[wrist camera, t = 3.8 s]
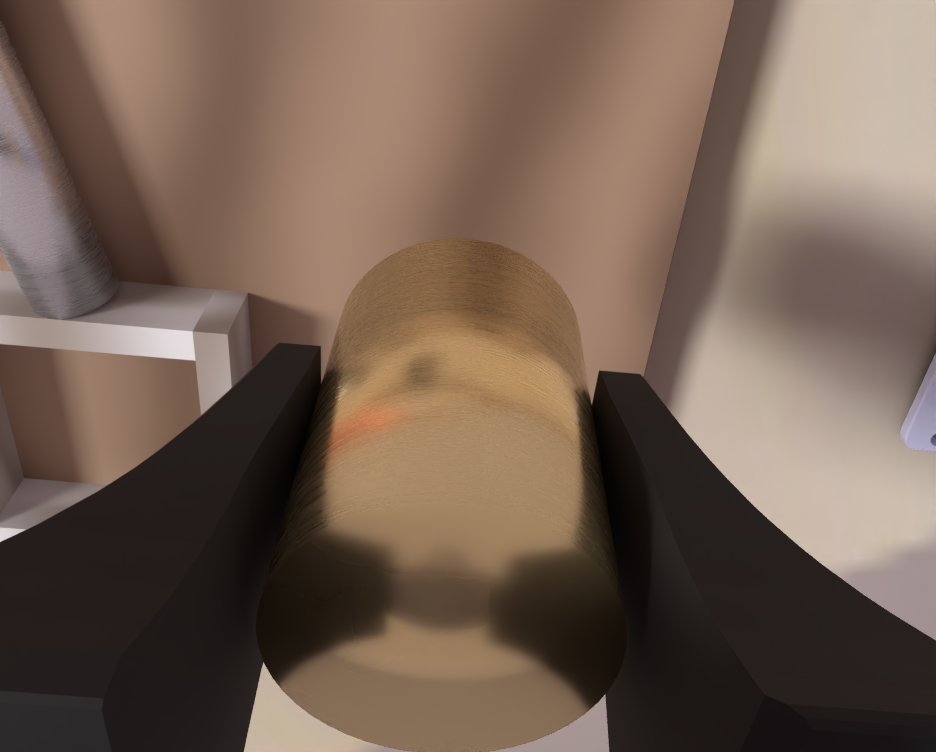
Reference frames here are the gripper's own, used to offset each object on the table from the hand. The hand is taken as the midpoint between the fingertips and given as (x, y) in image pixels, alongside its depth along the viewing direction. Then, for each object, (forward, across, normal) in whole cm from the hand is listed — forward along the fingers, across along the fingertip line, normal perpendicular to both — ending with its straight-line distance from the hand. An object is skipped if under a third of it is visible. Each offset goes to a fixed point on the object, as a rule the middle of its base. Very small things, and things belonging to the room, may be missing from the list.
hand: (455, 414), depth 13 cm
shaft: (+9, +10, -1) cm, 13 cm away
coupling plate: (+10, +6, +4) cm, 12 cm away
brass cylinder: (+2, 0, 0) cm, 2 cm away
